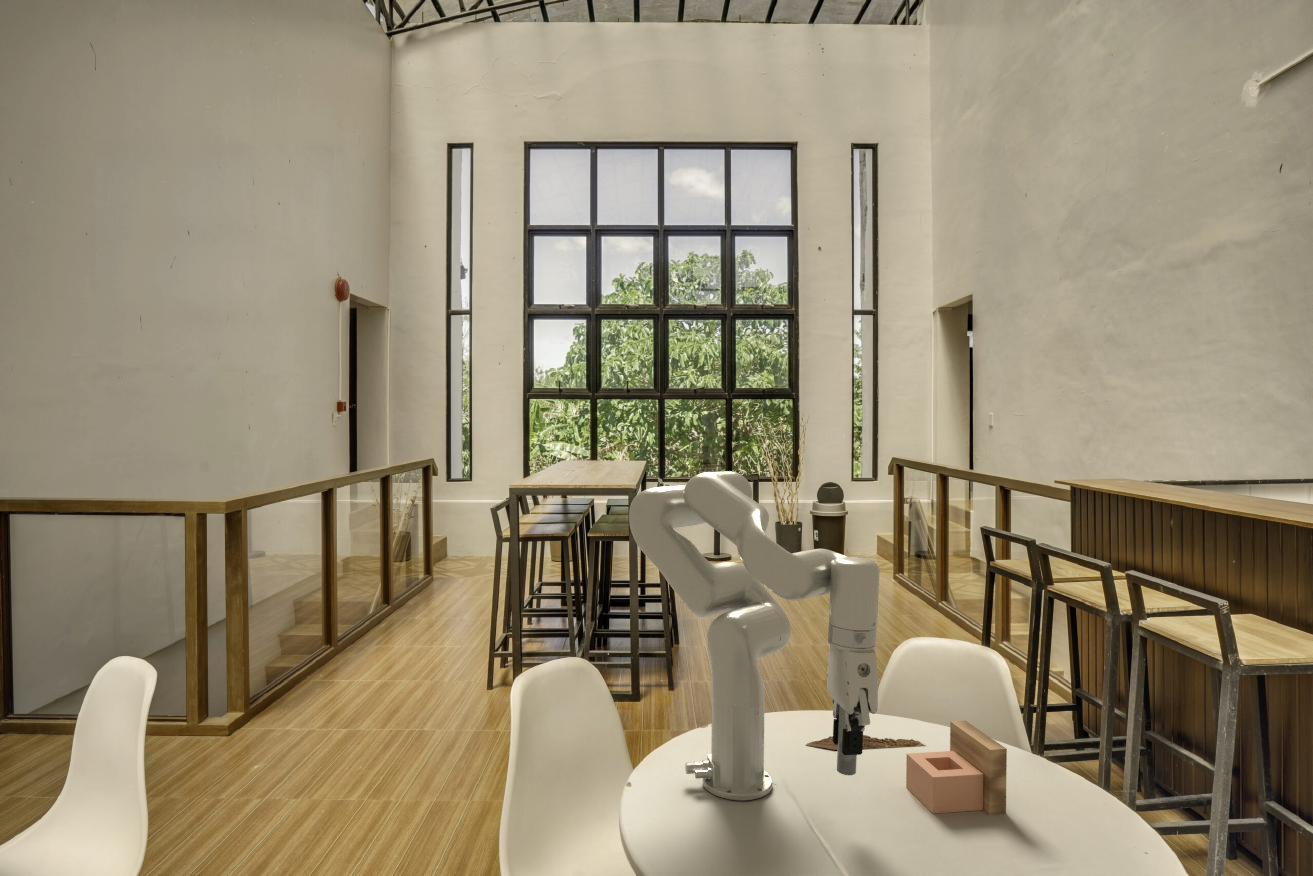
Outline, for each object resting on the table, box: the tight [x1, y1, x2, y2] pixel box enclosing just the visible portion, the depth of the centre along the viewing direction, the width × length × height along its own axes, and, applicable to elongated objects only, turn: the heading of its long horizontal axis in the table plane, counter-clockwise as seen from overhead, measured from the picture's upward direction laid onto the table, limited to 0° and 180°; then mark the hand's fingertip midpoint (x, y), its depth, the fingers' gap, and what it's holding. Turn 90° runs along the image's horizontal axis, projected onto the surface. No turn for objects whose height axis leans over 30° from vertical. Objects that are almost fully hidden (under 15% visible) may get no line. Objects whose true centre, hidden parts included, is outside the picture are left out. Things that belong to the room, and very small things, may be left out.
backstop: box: [949, 720, 1008, 816], centre depth 126 cm, size 3×12×11 cm, turn 8°
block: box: [905, 750, 984, 814], centre depth 126 cm, size 9×9×6 cm
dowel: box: [836, 706, 858, 776], centre depth 117 cm, size 3×3×12 cm
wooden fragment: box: [805, 734, 927, 751], centre depth 149 cm, size 26×11×1 cm, turn 80°
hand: (847, 747), depth 117 cm, fingers closed on dowel, 3 cm apart
